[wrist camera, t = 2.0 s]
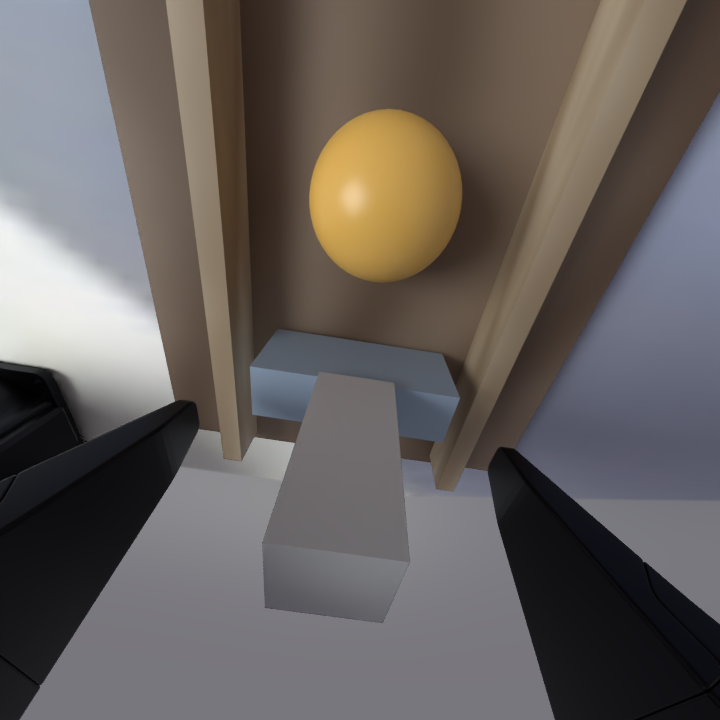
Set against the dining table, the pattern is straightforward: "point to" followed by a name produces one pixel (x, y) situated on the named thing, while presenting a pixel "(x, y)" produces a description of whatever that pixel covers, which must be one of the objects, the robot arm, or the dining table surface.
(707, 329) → the dining table surface
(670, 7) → the board
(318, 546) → the striker
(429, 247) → the ball
